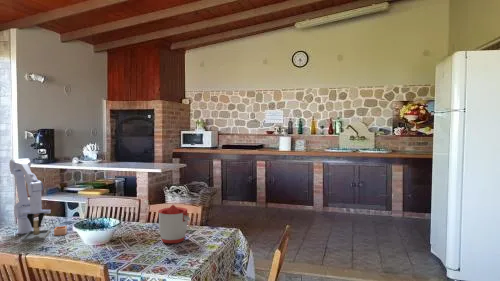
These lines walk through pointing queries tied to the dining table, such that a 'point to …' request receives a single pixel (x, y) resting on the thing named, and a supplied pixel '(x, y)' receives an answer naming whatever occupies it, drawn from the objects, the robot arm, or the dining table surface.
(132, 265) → the dining table surface
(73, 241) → the dining table surface
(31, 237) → the tray
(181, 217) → the citrus juicer
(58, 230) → the open box
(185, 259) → the dining table surface
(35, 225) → the dowel
